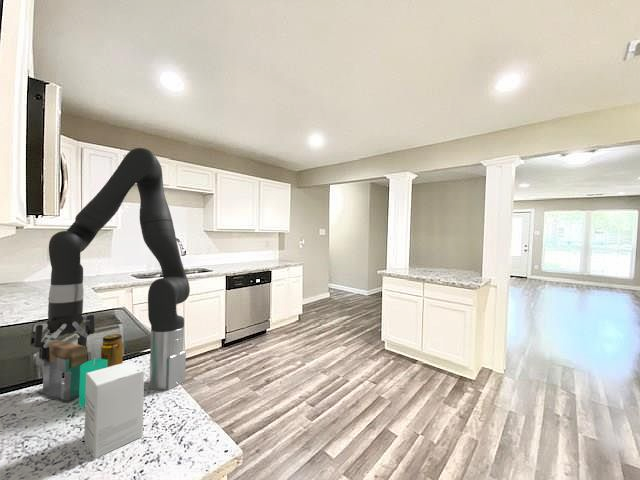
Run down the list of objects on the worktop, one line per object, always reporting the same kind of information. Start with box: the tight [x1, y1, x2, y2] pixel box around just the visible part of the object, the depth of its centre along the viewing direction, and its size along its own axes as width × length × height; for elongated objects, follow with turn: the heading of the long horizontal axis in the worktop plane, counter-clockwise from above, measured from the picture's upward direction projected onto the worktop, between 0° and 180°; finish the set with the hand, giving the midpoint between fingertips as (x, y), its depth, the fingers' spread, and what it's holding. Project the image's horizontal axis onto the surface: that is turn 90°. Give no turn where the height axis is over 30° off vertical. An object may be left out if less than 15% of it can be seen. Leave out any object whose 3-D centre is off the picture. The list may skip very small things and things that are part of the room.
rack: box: [35, 350, 92, 404], centre depth 81 cm, size 14×6×12 cm, turn 69°
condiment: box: [100, 333, 124, 367], centre depth 96 cm, size 7×8×12 cm
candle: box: [78, 356, 108, 408], centre depth 77 cm, size 6×6×12 cm
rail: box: [48, 339, 88, 367], centre depth 81 cm, size 15×4×4 cm, turn 69°
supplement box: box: [83, 360, 145, 459], centre depth 62 cm, size 9×9×15 cm
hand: (63, 354), depth 81 cm, fingers open, 8 cm apart
